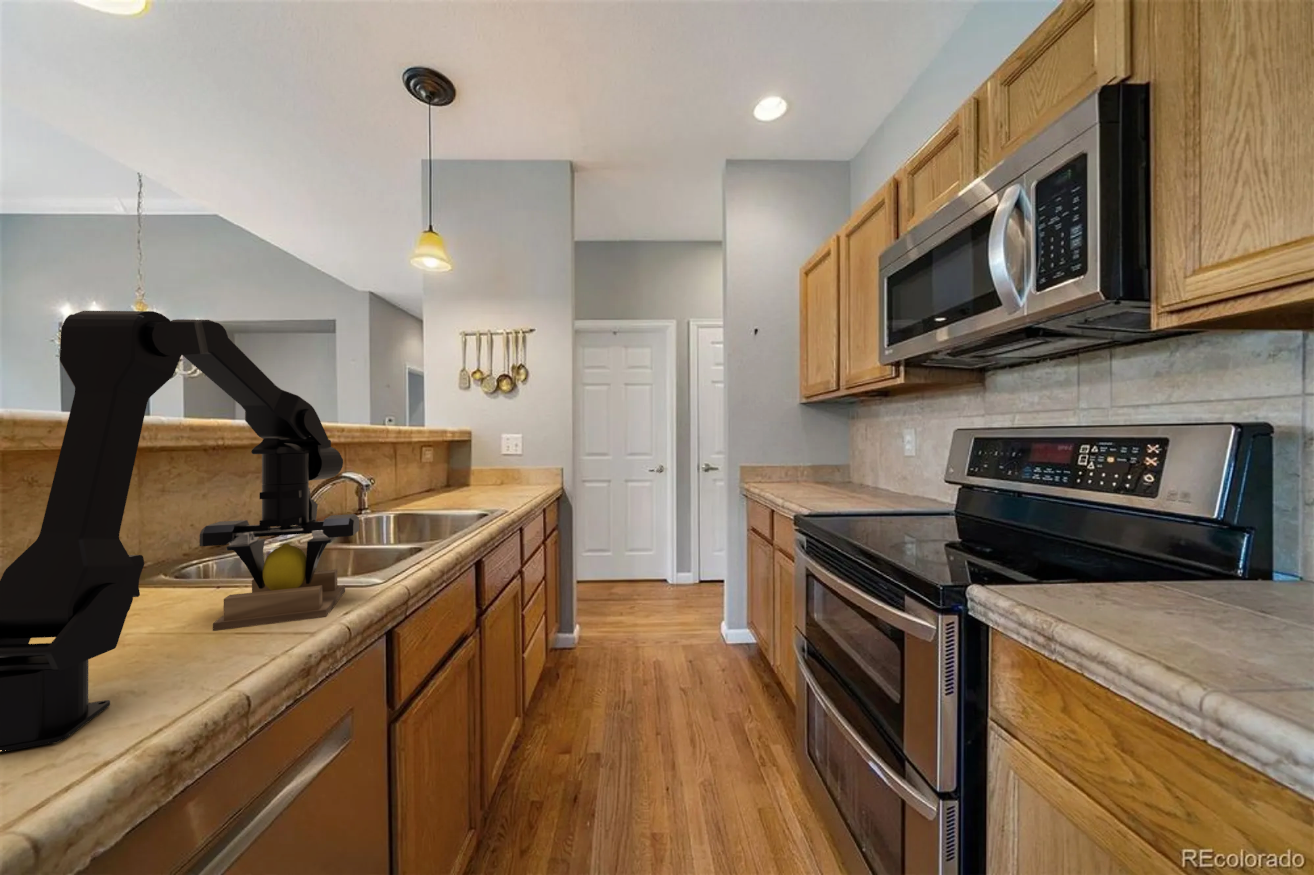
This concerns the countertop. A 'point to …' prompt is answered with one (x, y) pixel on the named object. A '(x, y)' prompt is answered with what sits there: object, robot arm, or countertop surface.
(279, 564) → the lemon
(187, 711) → the countertop surface
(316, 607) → the cradle
